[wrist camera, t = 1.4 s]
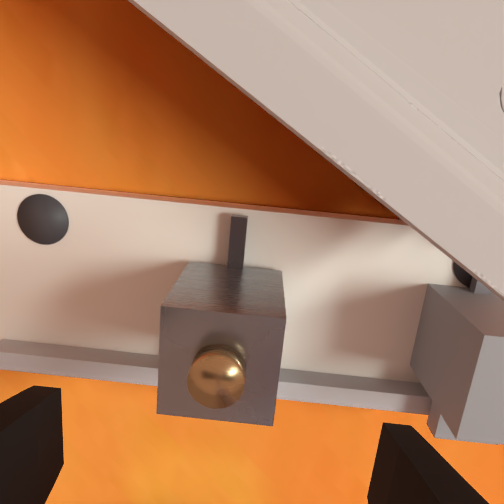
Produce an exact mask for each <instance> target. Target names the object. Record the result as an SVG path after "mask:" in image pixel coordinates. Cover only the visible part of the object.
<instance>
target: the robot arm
mask: <svg viewBox="0 0 504 504" xmlns="http://www.w3.org/2000/svg"><path fill="white" fill-rule="evenodd" d="M63 464H64V458H63V432H62V406H61V388H53V387H43V386H32V387H30V388H28V389H26V390H24V391H22V392H20V393H18V394H16V395H15V396H13V397H11V398H9V399H7V400H6V401H4V402H2V403H0V504H45V502H46V500H47V498H48V496H49V494H50V492H51V490H52V488H53V486H54V484H55V481H56V479H57V477H58V475H59V473H60V471H61V468H62V466H63ZM367 498H368V504H489V503H488V502H487V501H486V500H485V499H484V498H483V497H482V496H481V495H480V494H479V493H478V492H477V491H476V490H475V489H474V488H473V487H472V486H471V485H470V484H469V483H468V482H467V481H466V480H465V479H464V478H463V477H462V476H461V475H460V474H459V473H458V472H457V471H456V470H455V469H454V468H453V467H452V466H451V465H450V464H449V463H448V462H447V461H446V460H445V459H444V458H443V457H442V456H441V455H440V454H439V453H438V452H437V451H436V450H435V449H434V448H433V447H432V446H431V445H430V444H429V443H428V442H427V441H426V440H425V439H424V438H423V437H422V436H421V435H420V434H419V433H418V432H417V431H416V430H415V429H414V428H413V427H412V426H410V425H401V424H391V423H383V425H382V430H381V435H380V440H379V444H378V449H377V454H376V458H375V463H374V468H373V472H372V477H371V482H370V486H369V491H368V496H367Z"/></svg>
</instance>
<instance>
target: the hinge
mask: <svg viewBox="0 0 504 504" xmlns="http://www.w3.org/2000/svg"><path fill="white" fill-rule="evenodd" d="M128 1H129V2H130V3H131V4H133V5H134V6H135V7H136V8H138V9H139V10H140V11H141V12H143V13H144V14H145V15H146V16H148V17H149V18H150V19H151V20H153V21H154V22H155V23H156V24H158V25H159V26H160V27H161V28H163V29H164V30H165V31H166V32H168V33H169V34H170V35H171V36H173V37H174V38H175V39H176V40H178V41H179V42H180V43H181V44H183V45H184V46H185V47H186V48H188V49H189V50H190V51H191V52H193V53H194V54H195V55H196V56H198V57H199V58H200V59H201V60H203V61H204V62H205V63H206V64H208V65H209V66H210V67H211V68H213V69H214V70H215V71H216V72H218V73H219V74H220V75H221V76H223V77H224V78H225V79H226V80H228V81H229V82H230V83H231V84H233V85H234V86H235V87H236V88H238V89H239V90H240V91H241V92H243V93H244V94H245V95H246V96H248V97H249V98H250V99H251V100H253V101H254V102H255V103H256V104H258V105H259V106H260V107H261V108H263V109H264V110H265V111H266V112H268V113H269V114H270V115H271V116H273V117H274V118H275V119H276V120H278V121H279V122H280V123H281V124H283V125H284V126H285V127H286V128H288V129H289V130H290V131H291V132H293V133H294V134H295V135H296V136H298V137H299V138H300V139H301V140H303V141H304V142H305V143H306V144H308V145H309V146H310V147H311V148H313V149H314V150H315V151H316V152H318V153H319V154H320V155H321V156H323V157H324V158H325V159H326V160H328V161H329V162H330V163H331V164H333V165H334V166H335V167H336V168H338V169H339V170H340V171H341V172H343V173H344V174H345V175H346V176H348V177H349V178H350V179H351V180H353V181H354V182H355V183H356V184H358V185H359V186H360V187H361V188H363V189H364V190H365V191H366V192H368V193H369V194H370V195H371V196H373V197H374V198H375V199H376V200H378V201H379V202H380V203H381V204H383V205H384V206H385V207H386V208H388V209H389V210H390V211H391V212H393V213H394V214H395V215H396V216H398V217H399V218H400V219H401V220H403V221H404V222H405V223H406V224H408V225H409V226H410V227H411V228H413V229H414V230H415V231H416V232H418V233H419V234H420V235H421V236H423V237H424V238H425V239H426V240H428V241H429V242H430V243H431V244H433V245H434V246H435V247H436V248H438V249H439V250H440V251H441V252H443V253H444V254H445V255H446V256H448V257H449V258H450V259H451V260H453V261H454V262H455V263H456V264H458V265H459V266H460V267H461V268H463V269H464V270H465V271H466V272H468V273H469V274H470V275H471V276H473V277H474V278H475V279H476V280H478V281H479V282H480V283H481V284H483V285H484V286H485V287H486V288H488V289H489V290H490V291H491V292H493V293H494V294H495V295H496V296H498V297H499V298H500V299H502V300H503V301H504V0H128Z"/></svg>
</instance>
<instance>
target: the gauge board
mask: <svg viewBox="0 0 504 504" xmlns="http://www.w3.org/2000/svg"><path fill="white" fill-rule="evenodd" d="M232 214H234V215H244V216H248V222H247V233H246V243H245V254H244V265H243V267H250V268H259V269H269V270H279V271H282V278H283V288H284V298H285V309H286V327H285V335H284V343H283V350H282V358H281V366H280V374H279V382H278V390H277V398H276V399H284V400H293V401H303V402H312V403H321V404H331V405H340V406H350V407H359V408H368V409H378V410H387V411H397V412H406V413H415V414H425V415H429V416H428V420H427V425H428V427H429V429H430V431H431V433H432V434H433V436H434V438H440V439H450V440H459V441H468V442H478V443H487V444H496V445H498V444H504V301H503V300H502V299H500V298H499V297H498V296H496V295H495V294H494V293H493V292H491V291H490V290H489V289H488V288H486V287H485V286H484V285H483V284H481V283H480V282H479V281H478V280H476V279H475V278H474V277H473V276H471V275H470V274H469V273H468V272H466V271H465V270H464V269H463V268H461V267H460V266H459V265H458V264H456V263H455V262H454V261H453V260H451V259H450V258H449V257H448V256H446V255H445V254H444V253H443V252H441V251H440V250H439V249H438V248H436V247H435V246H434V245H433V244H431V243H430V242H429V241H428V240H426V239H425V238H424V237H423V236H421V235H420V234H419V233H418V232H416V231H415V230H414V229H413V228H411V227H410V226H409V225H408V224H406V223H405V222H404V221H403V220H399V219H389V218H379V217H369V216H359V215H349V214H339V213H329V212H319V211H309V210H299V209H289V208H279V207H269V206H259V205H249V204H239V203H229V202H219V201H209V200H199V199H189V198H179V197H169V196H159V195H149V194H139V193H129V192H119V191H109V190H99V189H89V188H79V187H69V186H59V185H49V184H39V183H29V182H19V181H9V180H0V369H2V370H11V371H21V372H30V373H39V374H49V375H58V376H68V377H77V378H86V379H96V380H105V381H115V382H124V383H133V384H143V385H152V386H158V362H159V335H160V308H161V305H162V303H163V301H164V300H165V298H166V297H167V295H168V294H169V292H170V291H171V289H172V288H173V286H174V284H175V283H176V281H177V280H178V278H179V277H180V275H181V274H182V272H183V271H184V269H185V267H186V266H187V264H188V263H189V261H191V262H201V263H210V264H220V265H227V262H228V250H229V237H230V225H231V216H232Z"/></svg>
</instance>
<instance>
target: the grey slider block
mask: <svg viewBox="0 0 504 504" xmlns="http://www.w3.org/2000/svg"><path fill="white" fill-rule="evenodd" d="M247 222H248V216H244V215H234V214H232V216H231V225H230V237H229V250H228V262H227V265H220V264H210V263H201V262H191V261H189V263H188V264H187V266H186V267H185V269H184V271H183V272H182V274H181V275H180V277H179V278H178V280H177V281H176V283H175V284H174V286H173V288H172V289H171V291H170V292H169V294H168V295H167V297H166V298H165V300H164V301H163V303H162V305H161V308H160V335H159V362H158V390H157V414H164V415H173V416H182V417H192V418H201V419H210V420H220V421H229V422H238V423H248V424H257V425H266V426H273V421H274V413H275V405H276V398H277V390H278V382H279V374H280V366H281V358H282V350H283V343H284V335H285V327H286V309H285V298H284V288H283V278H282V271H279V270H269V269H259V268H250V267H243V265H244V254H245V243H246V233H247Z"/></svg>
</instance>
